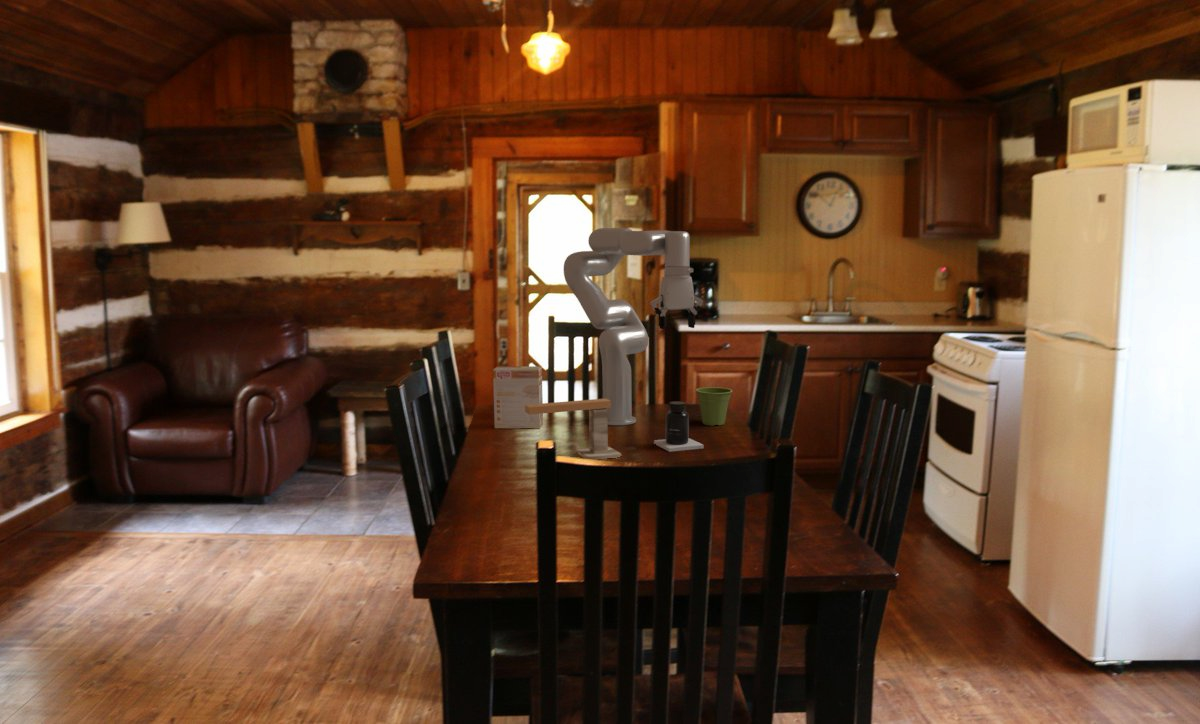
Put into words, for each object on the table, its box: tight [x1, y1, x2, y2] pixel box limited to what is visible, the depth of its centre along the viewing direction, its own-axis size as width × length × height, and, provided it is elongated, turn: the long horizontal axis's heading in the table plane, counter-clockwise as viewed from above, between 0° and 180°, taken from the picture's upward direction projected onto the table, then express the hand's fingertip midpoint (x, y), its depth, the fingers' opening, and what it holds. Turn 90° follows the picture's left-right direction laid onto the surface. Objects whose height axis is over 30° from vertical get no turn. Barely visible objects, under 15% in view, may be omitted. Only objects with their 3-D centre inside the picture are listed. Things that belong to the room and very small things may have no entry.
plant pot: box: [695, 386, 733, 427], centre depth 323 cm, size 12×12×11 cm
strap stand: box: [575, 408, 623, 461], centre depth 281 cm, size 10×10×14 cm
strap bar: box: [525, 398, 611, 415], centre depth 277 cm, size 4×24×2 cm, turn 111°
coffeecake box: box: [492, 365, 544, 430], centre depth 321 cm, size 15×7×20 cm, turn 84°
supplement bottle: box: [665, 400, 690, 445], centre depth 292 cm, size 7×7×12 cm
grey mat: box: [653, 437, 704, 453], centre depth 293 cm, size 11×11×1 cm
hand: (677, 328), depth 303 cm, fingers open, 9 cm apart
